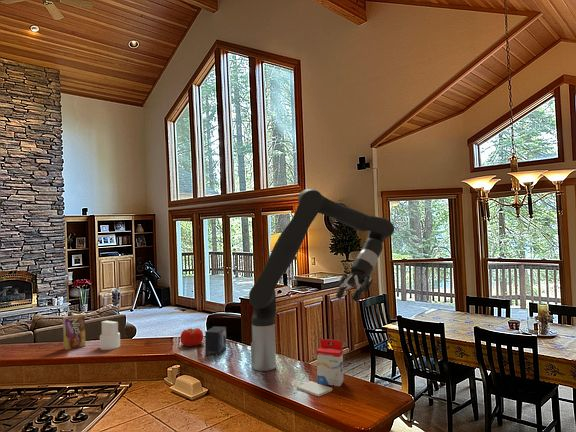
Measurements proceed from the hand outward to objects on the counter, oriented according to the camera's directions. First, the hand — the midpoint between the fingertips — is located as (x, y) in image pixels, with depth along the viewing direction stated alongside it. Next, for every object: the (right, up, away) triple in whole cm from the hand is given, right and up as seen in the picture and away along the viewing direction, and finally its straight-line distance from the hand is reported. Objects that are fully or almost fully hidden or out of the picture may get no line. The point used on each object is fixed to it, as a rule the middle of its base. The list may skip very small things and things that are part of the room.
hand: (345, 299), depth 156 cm
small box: (-54, -31, +35) cm, 71 cm away
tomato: (-67, -32, +48) cm, 88 cm away
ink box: (-6, -29, -6) cm, 30 cm away
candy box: (-125, -33, +49) cm, 138 cm away
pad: (-12, -29, -12) cm, 33 cm away
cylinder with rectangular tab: (-107, -33, +48) cm, 122 cm away
